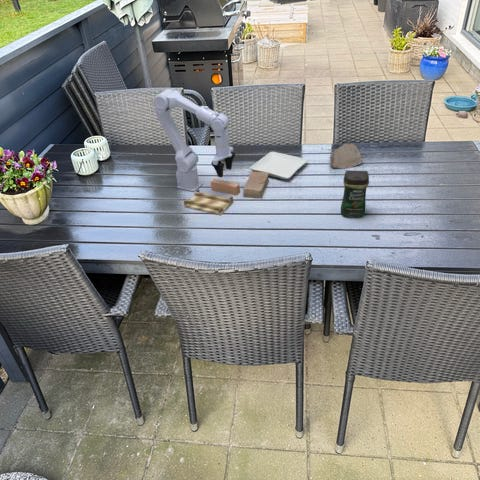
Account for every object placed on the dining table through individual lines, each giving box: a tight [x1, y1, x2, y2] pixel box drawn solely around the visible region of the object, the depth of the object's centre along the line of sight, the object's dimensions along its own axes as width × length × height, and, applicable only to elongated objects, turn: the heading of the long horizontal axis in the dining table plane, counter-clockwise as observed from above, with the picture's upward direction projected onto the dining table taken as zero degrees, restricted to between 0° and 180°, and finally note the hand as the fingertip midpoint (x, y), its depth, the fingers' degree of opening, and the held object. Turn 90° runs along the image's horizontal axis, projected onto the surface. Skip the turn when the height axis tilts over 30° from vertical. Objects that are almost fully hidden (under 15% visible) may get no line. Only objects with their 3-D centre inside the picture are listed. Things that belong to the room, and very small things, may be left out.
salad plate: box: [249, 151, 309, 181], centre depth 215 cm, size 21×21×3 cm
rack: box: [183, 188, 234, 216], centre depth 192 cm, size 18×11×3 cm, turn 63°
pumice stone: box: [330, 142, 364, 169], centre depth 211 cm, size 15×8×10 cm, turn 92°
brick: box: [242, 171, 269, 200], centre depth 200 cm, size 17×8×5 cm, turn 166°
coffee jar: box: [340, 170, 370, 218], centre depth 175 cm, size 10×8×19 cm
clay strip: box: [210, 178, 241, 196], centre depth 200 cm, size 13×3×4 cm, turn 62°
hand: (224, 172), depth 196 cm, fingers open, 7 cm apart
